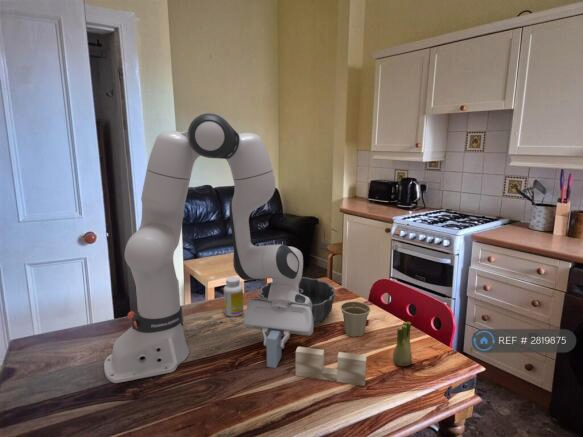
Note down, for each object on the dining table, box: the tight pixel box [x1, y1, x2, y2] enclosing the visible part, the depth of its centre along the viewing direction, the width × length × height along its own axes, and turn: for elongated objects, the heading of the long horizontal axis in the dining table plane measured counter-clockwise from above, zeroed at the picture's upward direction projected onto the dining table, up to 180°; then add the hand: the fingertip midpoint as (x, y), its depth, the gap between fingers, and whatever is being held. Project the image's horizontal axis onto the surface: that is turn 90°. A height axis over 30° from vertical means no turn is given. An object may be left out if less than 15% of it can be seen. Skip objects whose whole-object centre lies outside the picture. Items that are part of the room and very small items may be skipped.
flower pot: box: [340, 300, 371, 337], centre depth 121 cm, size 9×9×9 cm
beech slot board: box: [295, 346, 367, 387], centre depth 98 cm, size 18×2×7 cm, turn 76°
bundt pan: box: [258, 276, 336, 326], centre depth 132 cm, size 26×26×10 cm
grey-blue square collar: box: [266, 329, 282, 369], centre depth 105 cm, size 6×3×8 cm, turn 166°
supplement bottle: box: [223, 276, 244, 317], centre depth 134 cm, size 7×7×13 cm
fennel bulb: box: [392, 321, 413, 367], centre depth 104 cm, size 6×5×12 cm
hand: (273, 346), depth 104 cm, fingers closed on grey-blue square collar, 3 cm apart
